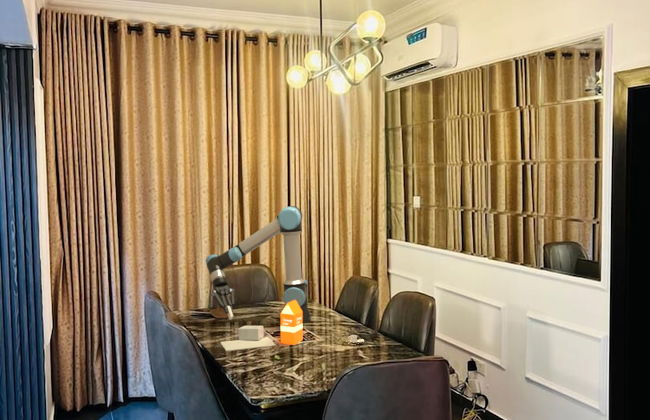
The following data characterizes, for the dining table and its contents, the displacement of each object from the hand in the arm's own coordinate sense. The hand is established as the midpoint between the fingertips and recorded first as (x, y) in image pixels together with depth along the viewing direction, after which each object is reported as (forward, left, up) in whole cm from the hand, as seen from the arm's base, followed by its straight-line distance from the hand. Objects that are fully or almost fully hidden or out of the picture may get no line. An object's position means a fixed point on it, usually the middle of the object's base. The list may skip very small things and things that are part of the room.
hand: (231, 317), depth 292 cm
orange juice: (-25, +22, -9) cm, 35 cm away
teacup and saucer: (-53, +39, -10) cm, 66 cm away
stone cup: (-3, -42, -9) cm, 43 cm away
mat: (-4, +19, -9) cm, 21 cm away
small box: (-3, +7, -6) cm, 10 cm away
